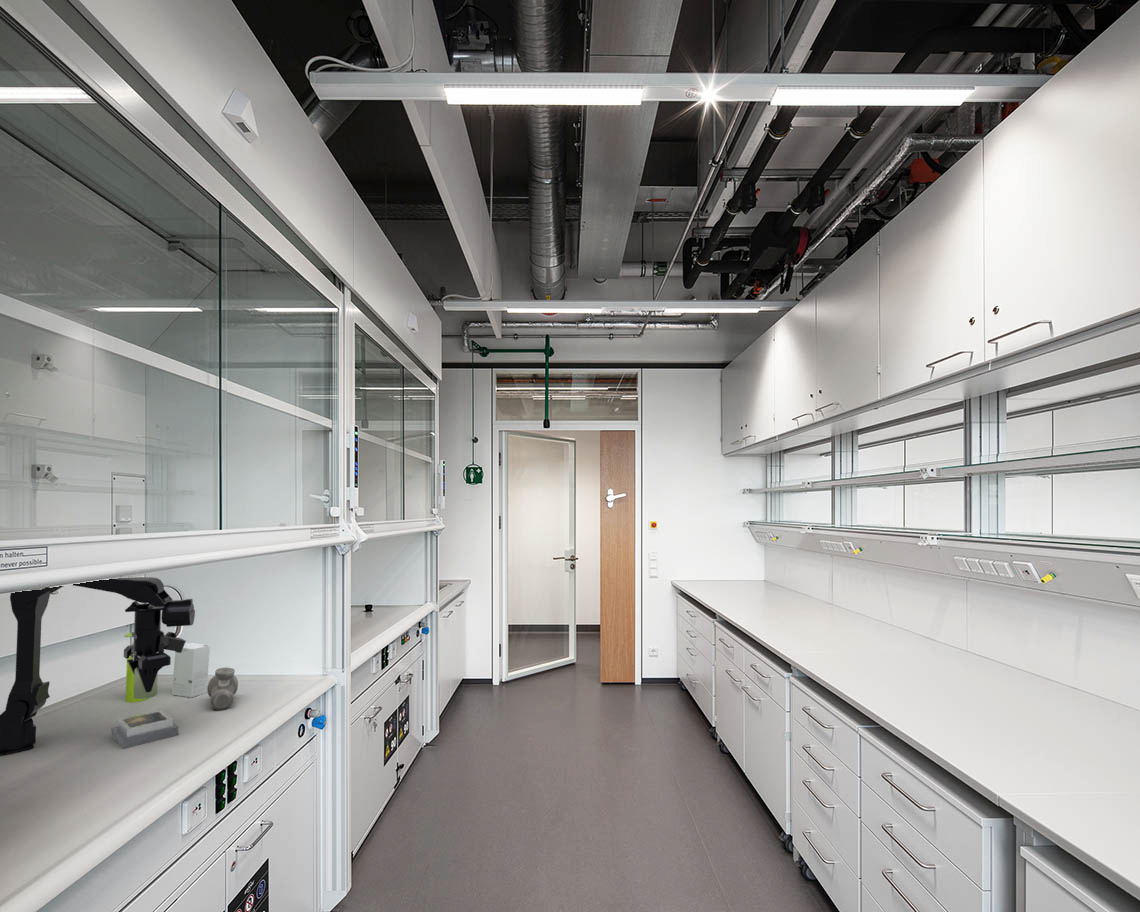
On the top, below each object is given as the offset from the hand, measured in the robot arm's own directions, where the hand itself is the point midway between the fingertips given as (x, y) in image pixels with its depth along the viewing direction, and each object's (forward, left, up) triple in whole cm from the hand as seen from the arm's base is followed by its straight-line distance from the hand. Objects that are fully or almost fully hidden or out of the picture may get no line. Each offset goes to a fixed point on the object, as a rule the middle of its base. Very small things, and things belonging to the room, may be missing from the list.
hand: (145, 689), depth 167 cm
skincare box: (+19, +29, -12) cm, 37 cm away
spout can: (0, 0, -2) cm, 2 cm away
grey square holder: (0, 0, -12) cm, 12 cm away
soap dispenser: (+6, +35, -12) cm, 37 cm away
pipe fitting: (+22, +11, -12) cm, 27 cm away
